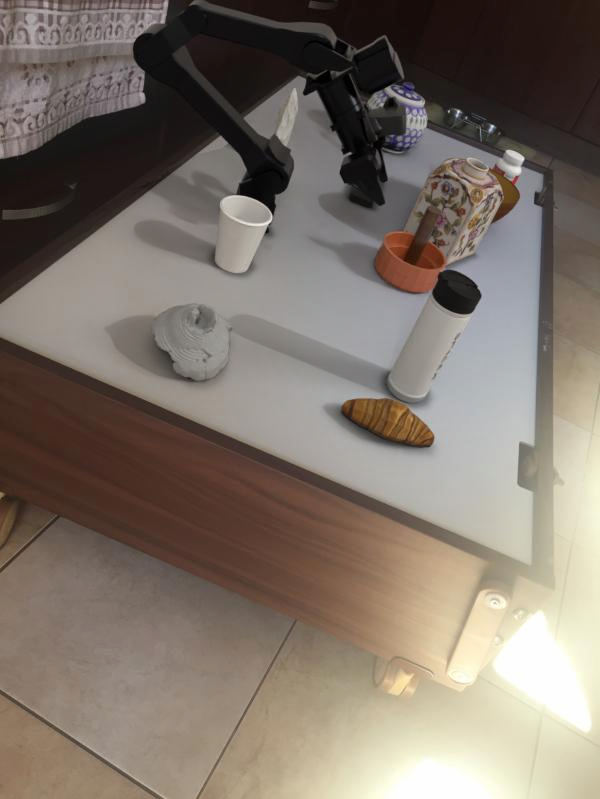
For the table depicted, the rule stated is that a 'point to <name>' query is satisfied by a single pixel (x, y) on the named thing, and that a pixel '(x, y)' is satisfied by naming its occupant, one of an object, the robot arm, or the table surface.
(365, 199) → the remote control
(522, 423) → the table surface
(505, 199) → the bowl
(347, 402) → the croissant
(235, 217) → the dixie cup
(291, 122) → the stone tool
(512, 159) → the pill bottle
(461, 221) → the decorative jar
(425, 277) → the orange round container
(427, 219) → the brown flanged peg
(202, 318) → the grey clay mound
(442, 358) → the travel mug
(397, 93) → the teapot
